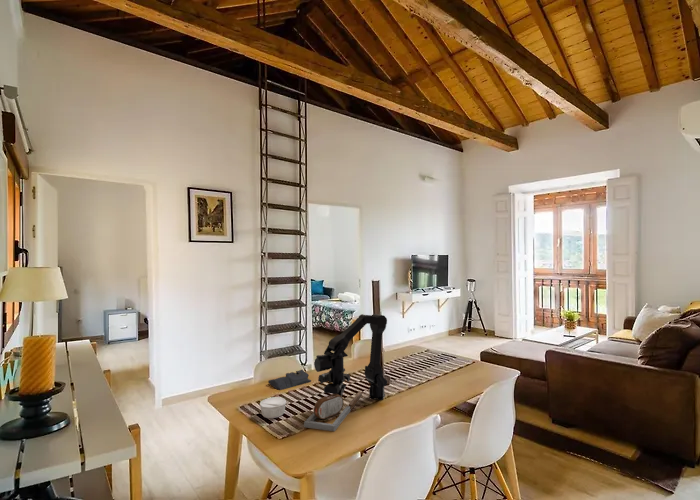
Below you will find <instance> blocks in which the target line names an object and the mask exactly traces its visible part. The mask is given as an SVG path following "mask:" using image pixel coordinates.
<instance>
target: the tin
mask: <svg viewBox="0 0 700 500" xmlns="http://www.w3.org/2000/svg"><path fill="white" fill-rule="evenodd" d="M343 408H344V397H343V395H342V396H340V395H338V394H330V395H327V396H324V397H320V398H319V399H318V400H317V401H316V403H315V404H314V407H313V413H314V414H315V416H316V417H317V418H318V419H320V420H325V419H327V418H330V417H333V416H335V415H339V413H340V412H342V411H343Z"/></svg>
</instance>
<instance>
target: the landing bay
mask: <svg viewBox="0 0 700 500" xmlns="http://www.w3.org/2000/svg"><path fill="white" fill-rule="evenodd" d="M349 413H351V409H350V406H349V405H347V406H346V407H345V408H344V409H343V410H342V411H341V413H340V414H338V415H339V416H338V417H337V418H336V419H335V420H334V421H333V423H328V422H327V423H326V422H321V421H318V422H317V421H316V419H317V418H318V417H316V416H315V414H314V412H312V413H311V414H310V415H309V417H307V419H306V420H305V421H304V422H303V427H304V428H309V429H315V430H321V431H330V432H336V430H337V429H338V428H339V426H340V425H341V424H342V422H343V421H344V420H345V419H346V418H347V416H348V415H349Z"/></svg>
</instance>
